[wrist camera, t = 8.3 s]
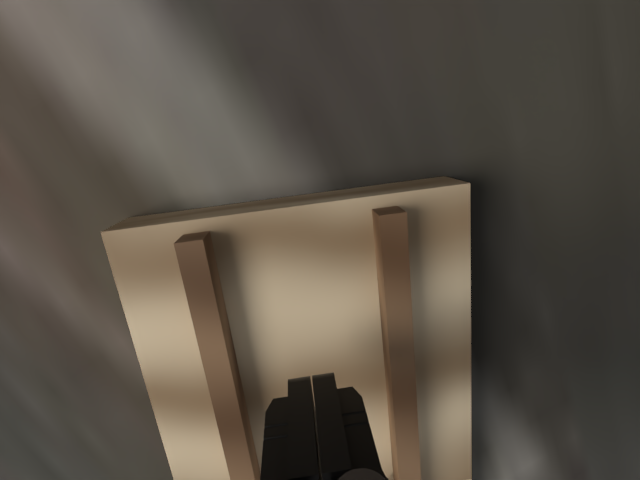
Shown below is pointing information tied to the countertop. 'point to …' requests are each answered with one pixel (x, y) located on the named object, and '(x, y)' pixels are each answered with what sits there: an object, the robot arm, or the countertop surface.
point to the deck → (305, 320)
